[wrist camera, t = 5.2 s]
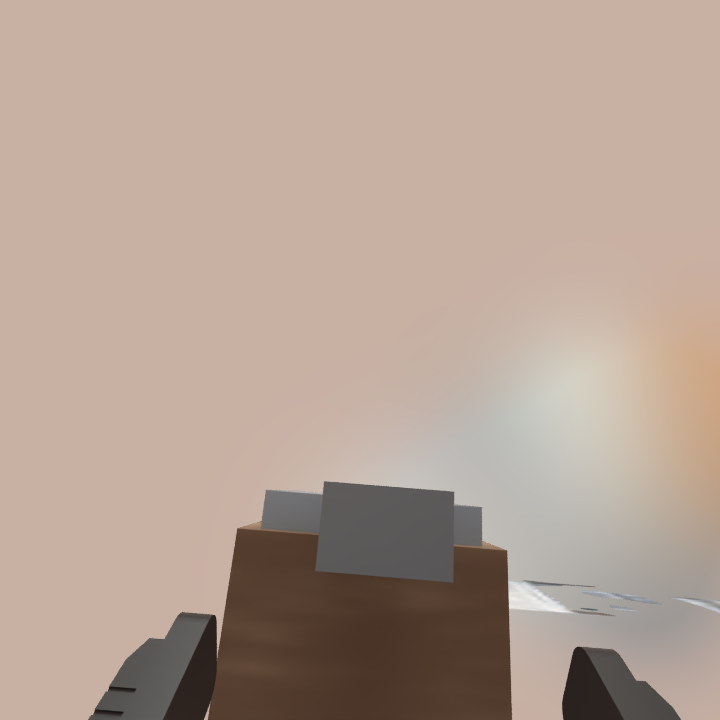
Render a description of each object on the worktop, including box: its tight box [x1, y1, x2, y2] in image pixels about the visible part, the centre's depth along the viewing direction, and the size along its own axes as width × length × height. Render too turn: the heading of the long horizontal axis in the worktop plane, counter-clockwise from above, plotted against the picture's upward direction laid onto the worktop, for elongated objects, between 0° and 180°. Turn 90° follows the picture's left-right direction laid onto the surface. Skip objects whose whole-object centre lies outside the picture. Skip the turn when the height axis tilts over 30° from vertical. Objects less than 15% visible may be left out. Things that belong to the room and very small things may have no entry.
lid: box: [261, 482, 482, 582], centre depth 23 cm, size 23×12×2 cm, turn 0°
